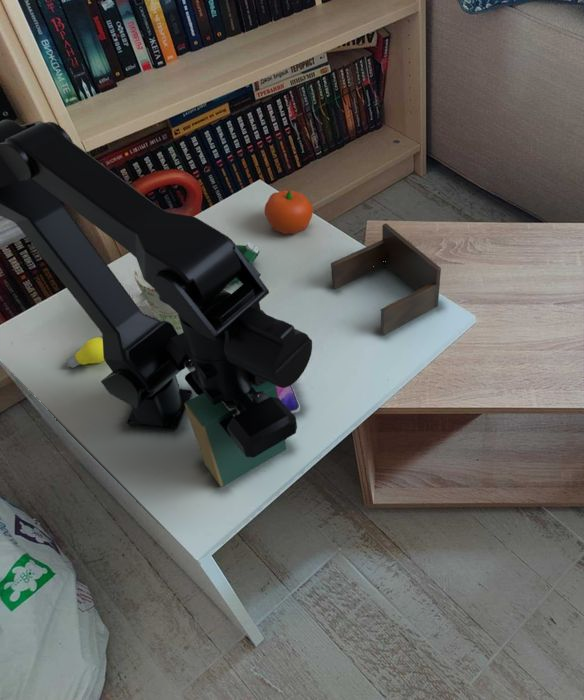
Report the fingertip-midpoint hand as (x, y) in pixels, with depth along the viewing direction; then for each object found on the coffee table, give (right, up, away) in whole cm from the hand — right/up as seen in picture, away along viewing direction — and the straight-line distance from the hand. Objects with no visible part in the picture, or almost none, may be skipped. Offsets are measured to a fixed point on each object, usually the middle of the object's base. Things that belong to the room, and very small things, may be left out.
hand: (241, 430), depth 81 cm
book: (-1, -4, +4) cm, 6 cm away
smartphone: (-2, +5, +13) cm, 14 cm away
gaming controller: (-10, +22, +27) cm, 36 cm away
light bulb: (-26, +10, +13) cm, 31 cm away
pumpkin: (-4, +31, +36) cm, 48 cm away
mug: (-16, +13, +18) cm, 27 cm away
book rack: (+14, +18, +27) cm, 35 cm away
